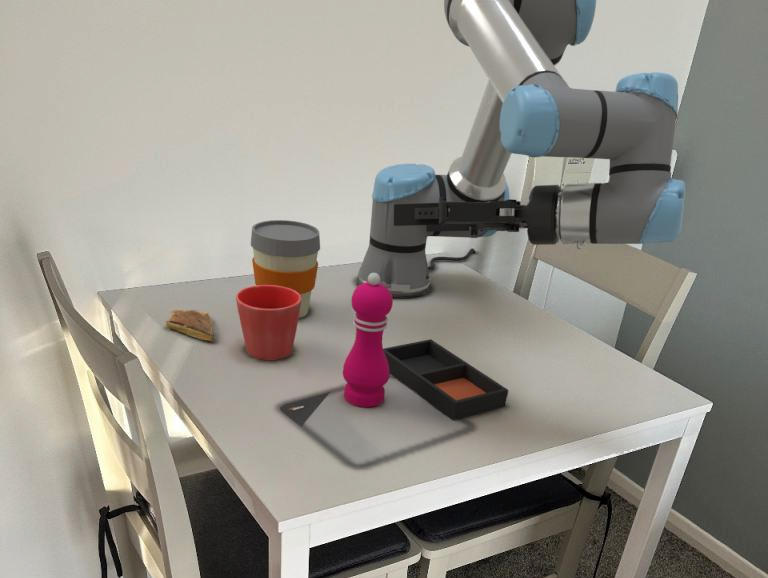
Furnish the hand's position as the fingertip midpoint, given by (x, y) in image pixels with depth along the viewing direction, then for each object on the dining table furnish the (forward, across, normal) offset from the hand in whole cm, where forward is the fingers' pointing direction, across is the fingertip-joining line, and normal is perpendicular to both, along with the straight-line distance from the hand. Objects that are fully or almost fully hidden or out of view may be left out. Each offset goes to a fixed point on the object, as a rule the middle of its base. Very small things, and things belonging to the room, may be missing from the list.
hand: (411, 218), depth 111 cm
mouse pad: (+4, -4, -29) cm, 29 cm away
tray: (-1, +11, -25) cm, 27 cm away
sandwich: (+42, +7, -17) cm, 46 cm away
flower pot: (+28, +6, -20) cm, 35 cm away
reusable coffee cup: (+34, +23, -14) cm, 43 cm away
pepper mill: (+8, 0, -26) cm, 28 cm away
